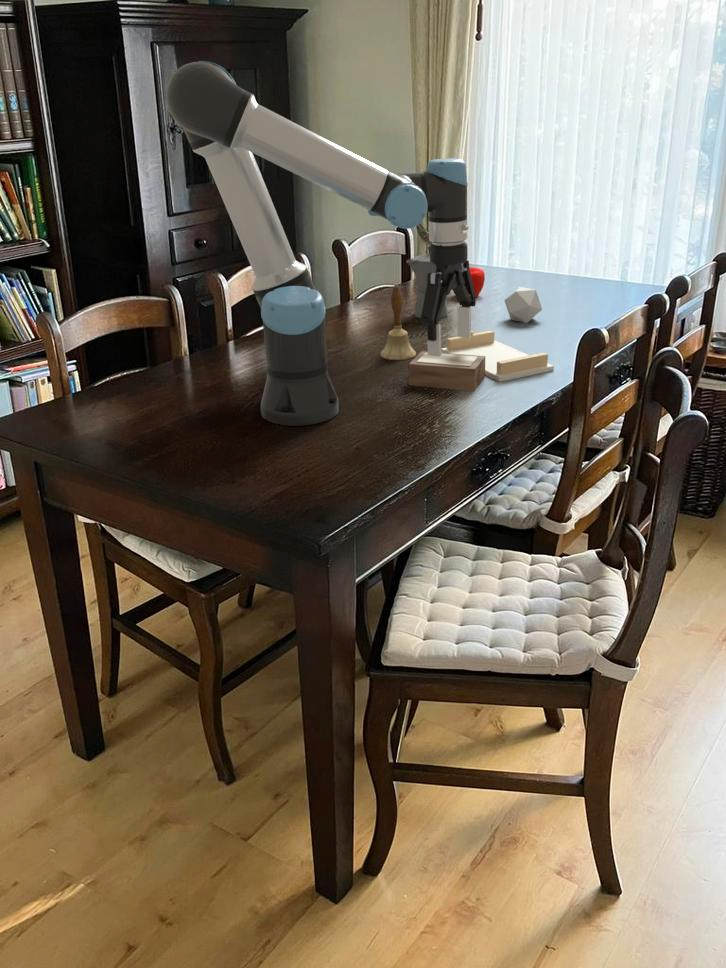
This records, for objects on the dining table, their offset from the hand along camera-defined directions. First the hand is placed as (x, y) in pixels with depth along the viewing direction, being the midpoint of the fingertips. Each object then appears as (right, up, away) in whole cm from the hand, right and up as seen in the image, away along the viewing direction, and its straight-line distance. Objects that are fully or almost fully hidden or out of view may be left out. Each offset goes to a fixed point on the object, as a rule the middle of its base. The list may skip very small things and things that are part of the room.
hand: (449, 346), depth 186 cm
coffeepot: (+1, +16, +52) cm, 55 cm away
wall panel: (+12, -1, +14) cm, 18 cm away
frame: (0, -7, +3) cm, 8 cm away
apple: (+12, +25, +69) cm, 74 cm away
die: (+23, +13, +44) cm, 52 cm away
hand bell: (-10, +1, +21) cm, 24 cm away
